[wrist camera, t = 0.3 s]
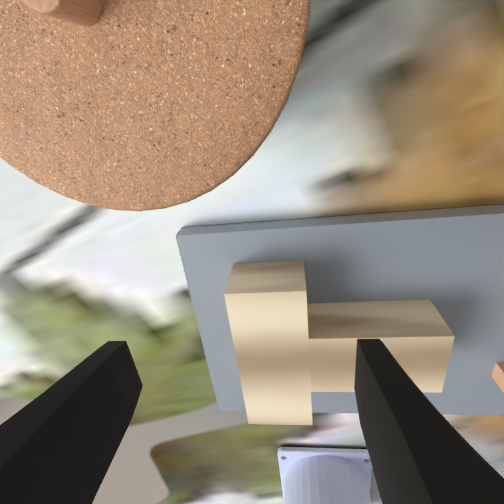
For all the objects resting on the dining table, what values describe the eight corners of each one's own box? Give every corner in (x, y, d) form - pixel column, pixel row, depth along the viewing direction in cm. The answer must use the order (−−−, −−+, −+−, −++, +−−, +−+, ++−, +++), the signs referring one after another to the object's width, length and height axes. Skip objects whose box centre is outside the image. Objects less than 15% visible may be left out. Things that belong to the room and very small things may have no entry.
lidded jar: (336, -82, 12) (449, -465, 4) (264, 184, 17) (242, 277, 9) (60, -166, 12) (-496, -788, 3) (69, 131, 17) (-143, 175, 8)
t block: (415, 384, 21) (433, 427, 18) (253, 384, 23) (248, 423, 20) (437, 252, 16) (466, 284, 14) (233, 263, 18) (223, 294, 15)
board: (587, 400, 22) (632, 447, 19) (222, 397, 25) (213, 436, 23) (703, 189, 15) (799, 213, 12) (182, 227, 19) (163, 252, 16)
